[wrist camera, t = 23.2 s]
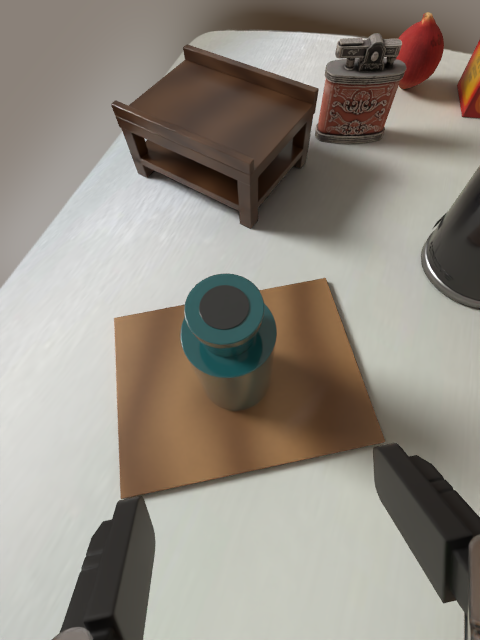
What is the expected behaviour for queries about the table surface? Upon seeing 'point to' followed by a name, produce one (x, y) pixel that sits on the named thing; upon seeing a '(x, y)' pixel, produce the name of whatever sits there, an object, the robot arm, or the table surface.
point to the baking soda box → (470, 86)
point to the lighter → (359, 90)
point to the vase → (229, 340)
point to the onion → (420, 51)
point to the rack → (221, 129)
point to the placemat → (245, 425)
